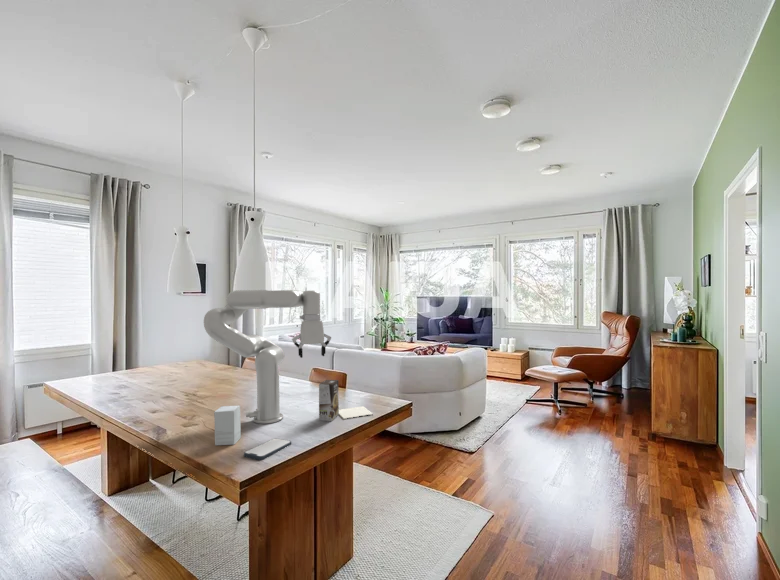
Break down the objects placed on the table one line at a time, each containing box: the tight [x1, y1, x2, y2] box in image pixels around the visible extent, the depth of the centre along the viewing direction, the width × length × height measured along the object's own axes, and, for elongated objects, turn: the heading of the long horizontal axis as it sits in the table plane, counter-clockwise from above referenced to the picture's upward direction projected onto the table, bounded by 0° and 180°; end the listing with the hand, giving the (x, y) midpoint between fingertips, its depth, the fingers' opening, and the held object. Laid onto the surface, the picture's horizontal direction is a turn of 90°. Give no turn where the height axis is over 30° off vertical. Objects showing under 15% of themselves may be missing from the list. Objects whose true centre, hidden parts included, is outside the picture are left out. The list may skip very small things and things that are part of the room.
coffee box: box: [318, 379, 340, 422], centre depth 170 cm, size 9×6×16 cm
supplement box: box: [213, 405, 242, 446], centre depth 144 cm, size 7×7×13 cm
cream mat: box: [338, 405, 374, 420], centre depth 176 cm, size 14×13×1 cm
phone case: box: [243, 438, 292, 461], centre depth 135 cm, size 9×2×16 cm
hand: (312, 356), depth 169 cm, fingers open, 9 cm apart
